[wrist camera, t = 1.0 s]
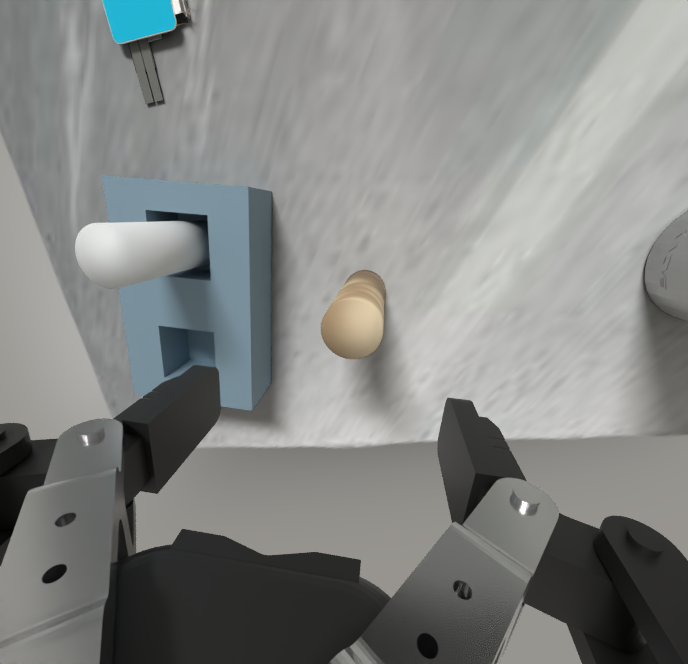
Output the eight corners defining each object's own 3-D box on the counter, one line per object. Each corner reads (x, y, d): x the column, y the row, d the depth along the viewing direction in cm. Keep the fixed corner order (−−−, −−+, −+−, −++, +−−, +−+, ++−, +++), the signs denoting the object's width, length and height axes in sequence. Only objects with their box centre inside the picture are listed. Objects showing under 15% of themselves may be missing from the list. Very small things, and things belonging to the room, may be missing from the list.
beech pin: (387, 272, 29) (386, 303, 19) (382, 312, 30) (379, 362, 20) (346, 268, 29) (322, 296, 19) (343, 308, 31) (319, 355, 20)
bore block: (271, 191, 28) (192, 175, 17) (270, 383, 34) (212, 466, 23) (148, 182, 29) (-5, 160, 18) (168, 370, 35) (64, 443, 24)
